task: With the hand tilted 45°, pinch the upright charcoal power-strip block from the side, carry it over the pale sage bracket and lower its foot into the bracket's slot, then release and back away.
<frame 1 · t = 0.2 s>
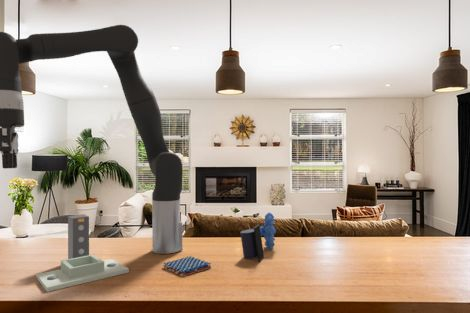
hand: (10, 168, 91), 29 cm above the kitchen island, tool pointing down, fingers open, 8 cm apart
power strip: (78, 263, 100), on the kitchen island
woven mat: (186, 270, 95), on the kitchen island
bracket: (83, 275, 90), on the kitchen island
speaker: (251, 258, 104), on the kitchen island
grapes: (266, 248, 116), on the kitchen island
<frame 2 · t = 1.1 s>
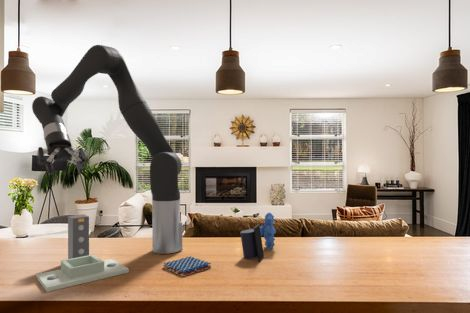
hand: (66, 172, 108), 27 cm above the kitchen island, tool tilted 45°, fingers open, 8 cm apart
nothing on the kitchen island moved.
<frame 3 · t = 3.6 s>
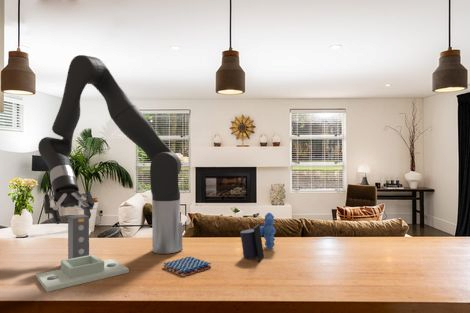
hand: (73, 220, 104), 12 cm above the kitchen island, tool tilted 45°, fingers open, 8 cm apart
nothing on the kitchen island moved.
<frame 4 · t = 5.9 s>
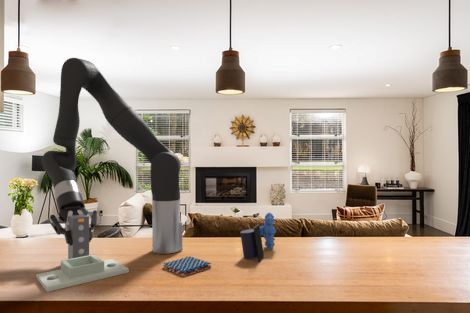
hand: (80, 242, 98), 7 cm above the kitchen island, tool tilted 45°, fingers closed on power strip, 4 cm apart
power strip: (78, 263, 100), on the kitchen island, touching gripper
everything else where it was.
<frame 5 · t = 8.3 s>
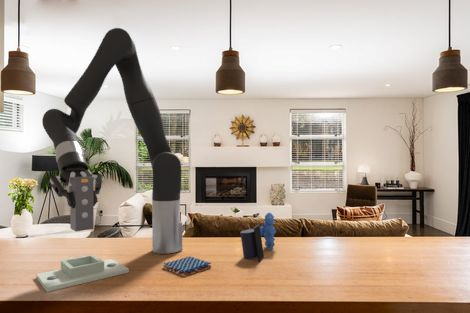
hand: (84, 205, 89), 19 cm above the kitchen island, tool tilted 45°, fingers closed on power strip, 4 cm apart
power strip: (81, 228, 90), point 12 cm above the kitchen island, touching gripper
everything else where it was.
when the fingers open (9 cm above the kitchen island, at t = 11.1 s): power strip stays where it is, resting on bracket.
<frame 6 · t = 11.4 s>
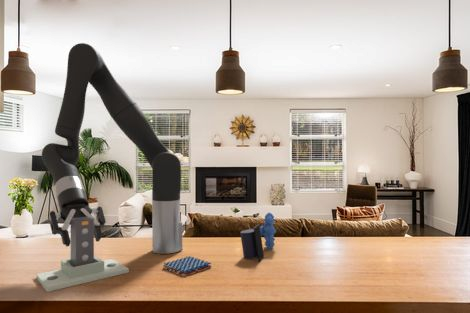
hand: (84, 242, 89), 9 cm above the kitchen island, tool tilted 45°, fingers open, 7 cm apart
power strip: (82, 270, 90), point 1 cm above the kitchen island, touching bracket
everything else where it was.
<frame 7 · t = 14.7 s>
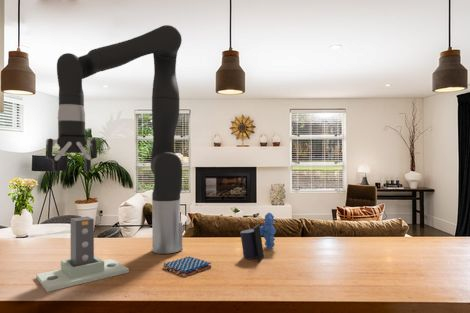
hand: (72, 172, 104), 27 cm above the kitchen island, tool pointing down, fingers open, 8 cm apart
nothing on the kitchen island moved.
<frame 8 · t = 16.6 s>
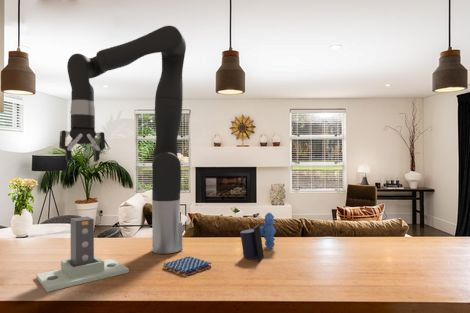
hand: (83, 161, 114), 30 cm above the kitchen island, tool pointing down, fingers open, 8 cm apart
nothing on the kitchen island moved.
at the end: power strip 0.1 cm off-centre on the bracket, point 1.0 cm above the bracket's base; power strip tilted 0°; the gripper is holding nothing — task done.
